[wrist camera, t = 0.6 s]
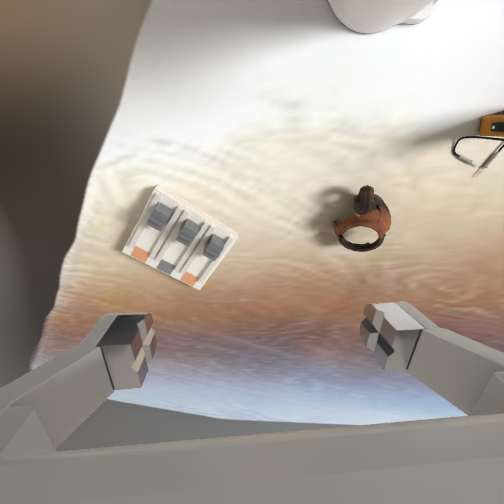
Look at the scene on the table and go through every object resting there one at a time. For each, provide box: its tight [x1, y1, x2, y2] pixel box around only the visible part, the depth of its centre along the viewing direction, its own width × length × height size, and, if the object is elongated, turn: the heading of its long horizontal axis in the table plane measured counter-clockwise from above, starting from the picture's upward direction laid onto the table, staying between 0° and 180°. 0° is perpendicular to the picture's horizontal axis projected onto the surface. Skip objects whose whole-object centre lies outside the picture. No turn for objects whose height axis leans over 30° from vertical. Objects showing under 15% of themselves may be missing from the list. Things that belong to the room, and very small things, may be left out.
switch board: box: [122, 185, 238, 290], centre depth 43 cm, size 14×16×3 cm
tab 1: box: [146, 202, 174, 232], centre depth 37 cm, size 3×2×4 cm
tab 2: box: [202, 234, 225, 261], centre depth 40 cm, size 3×2×4 cm
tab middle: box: [176, 219, 200, 247], centre depth 39 cm, size 3×2×4 cm
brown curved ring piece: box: [333, 185, 391, 252], centre depth 41 cm, size 12×10×8 cm
